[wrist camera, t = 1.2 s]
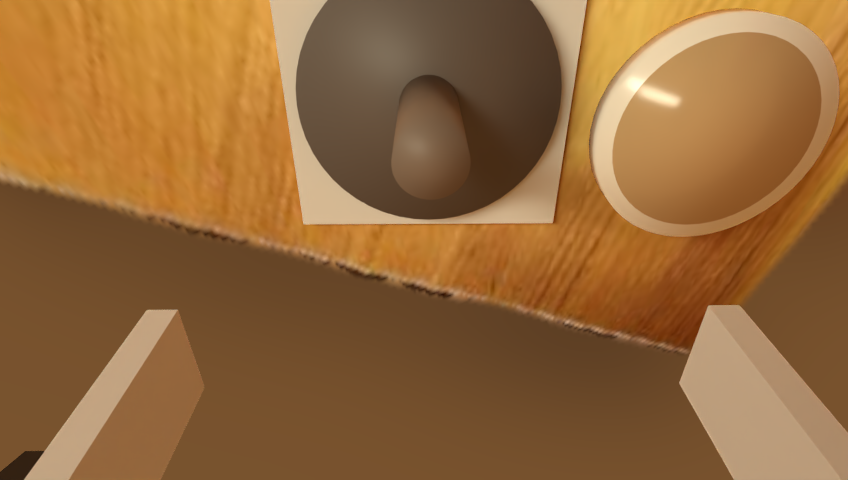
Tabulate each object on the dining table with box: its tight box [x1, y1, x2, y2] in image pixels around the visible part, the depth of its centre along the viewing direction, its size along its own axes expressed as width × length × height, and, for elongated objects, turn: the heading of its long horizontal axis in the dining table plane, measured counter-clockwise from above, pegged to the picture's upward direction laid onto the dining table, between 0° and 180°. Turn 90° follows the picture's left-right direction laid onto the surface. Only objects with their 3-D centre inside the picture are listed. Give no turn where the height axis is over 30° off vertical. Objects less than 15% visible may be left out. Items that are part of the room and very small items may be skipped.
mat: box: [270, 0, 587, 224], centre depth 31 cm, size 18×18×1 cm
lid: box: [296, 0, 562, 220], centre depth 27 cm, size 16×16×10 cm
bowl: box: [589, 8, 839, 237], centre depth 30 cm, size 13×13×5 cm
